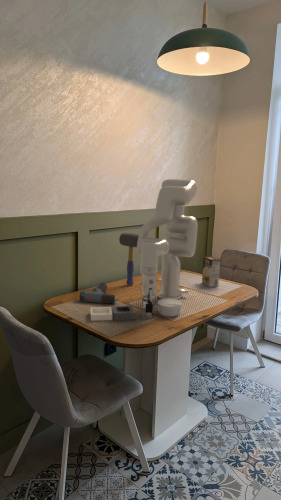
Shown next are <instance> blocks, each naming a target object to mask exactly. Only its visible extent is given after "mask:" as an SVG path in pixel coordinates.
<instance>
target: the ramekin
mask: <svg viewBox="0 0 281 500" xmlns="http://www.w3.org/2000/svg"><path fill="white" fill-rule="evenodd" d="M156 302H157V303H156V304H157V310H158V312H159V314H160V315H162V316H164V317H177V316H179V315H180V312H181V308H182V304H183V303H182V301H181V300H180V299H178V300H176V299H170V298H164V299H161V298H159V300H157V301H156Z"/></svg>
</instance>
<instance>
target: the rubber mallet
mask: <svg viewBox="0 0 281 500" xmlns="http://www.w3.org/2000/svg"><path fill="white" fill-rule="evenodd" d="M138 237H139V234H135V233H131V232H129V233H127V232H122V233H121V234H120V235H119V244H120V245H121V246H125V247H128V257H127V258H128V261H127V263H126V264H127V265H126V272H127V275H126V277H127V278H126V286H128V287H132V286H133V285H134V268H135V267H134V266H135V265H134V264H135V263H134V248H137V242H138Z"/></svg>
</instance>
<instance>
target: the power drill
mask: <svg viewBox="0 0 281 500" xmlns="http://www.w3.org/2000/svg"><path fill="white" fill-rule="evenodd" d="M107 291H108V285H107V284H106V283H105V282H101V283H99V284H98V285H96V286H95V287H94V288H93V290H91V291H90V290H89V291H87V290H86V291H85V290H81V291H80V292H79V301H81V302H86V301H87V302H88V303H96V304H112V305H113V304H115V303H117V302H118V300H119V298H118V297H117V296H116V295H115V294H110V293H109V294H108V293H106V292H107ZM87 302H86V303H87Z"/></svg>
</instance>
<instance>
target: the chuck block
mask: <svg viewBox="0 0 281 500" xmlns="http://www.w3.org/2000/svg"><path fill="white" fill-rule="evenodd" d="M111 310H112V321H114V322H118V321H119V322H121V321H124V322H126V321H135V319H136V316H135V315H136V312H135V309H134V308H133V305H112V306H111Z"/></svg>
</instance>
